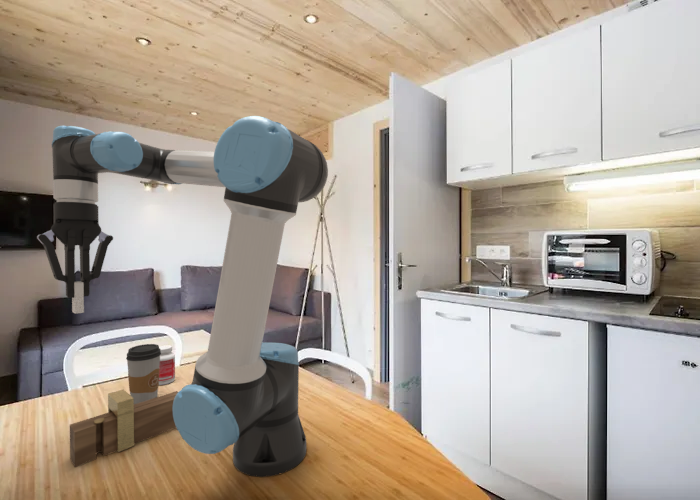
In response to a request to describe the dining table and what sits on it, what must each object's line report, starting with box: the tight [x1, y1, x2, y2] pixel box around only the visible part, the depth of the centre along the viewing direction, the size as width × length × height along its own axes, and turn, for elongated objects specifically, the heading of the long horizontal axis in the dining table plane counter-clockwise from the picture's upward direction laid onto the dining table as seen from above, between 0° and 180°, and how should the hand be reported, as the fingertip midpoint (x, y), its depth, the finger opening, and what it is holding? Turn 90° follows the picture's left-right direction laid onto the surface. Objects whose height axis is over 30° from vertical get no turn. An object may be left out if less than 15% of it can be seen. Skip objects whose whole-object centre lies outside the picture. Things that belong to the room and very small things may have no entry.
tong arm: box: [100, 395, 177, 457], centre depth 79 cm, size 2×16×7 cm, turn 139°
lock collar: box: [107, 388, 135, 453], centre depth 76 cm, size 7×3×10 cm, turn 49°
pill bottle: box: [158, 344, 176, 386], centre depth 110 cm, size 6×6×11 cm
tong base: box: [69, 390, 179, 468], centre depth 78 cm, size 4×21×7 cm, turn 139°
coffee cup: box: [125, 343, 161, 404], centre depth 96 cm, size 8×8×15 cm
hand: (78, 312), depth 74 cm, fingers closed
